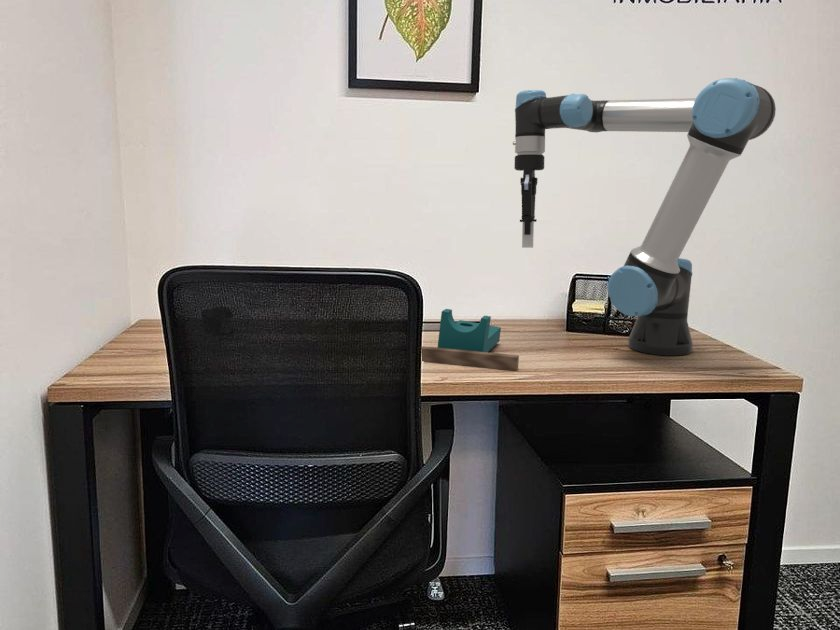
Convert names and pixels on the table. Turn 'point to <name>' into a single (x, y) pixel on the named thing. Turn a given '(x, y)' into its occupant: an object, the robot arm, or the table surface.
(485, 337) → the teal notched cradle
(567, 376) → the table surface
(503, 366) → the walnut bar
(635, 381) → the table surface
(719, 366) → the table surface
